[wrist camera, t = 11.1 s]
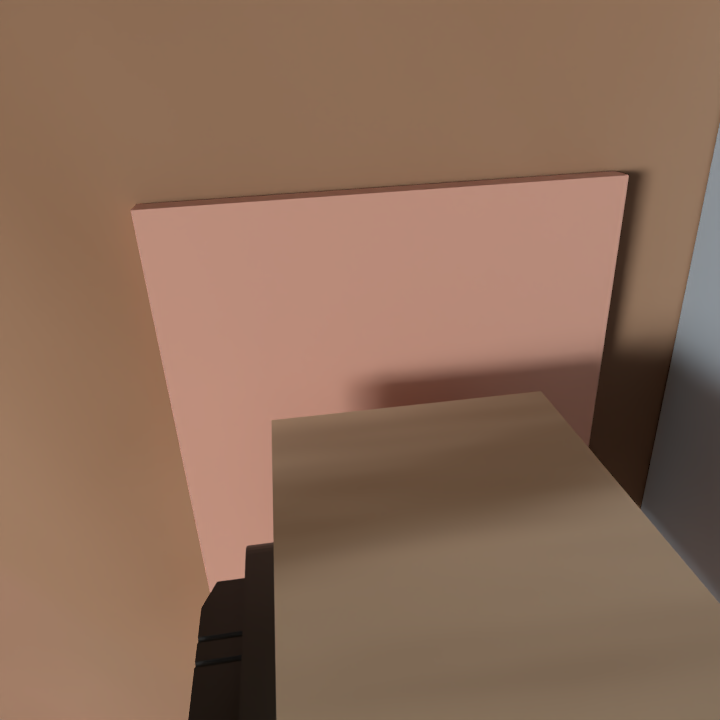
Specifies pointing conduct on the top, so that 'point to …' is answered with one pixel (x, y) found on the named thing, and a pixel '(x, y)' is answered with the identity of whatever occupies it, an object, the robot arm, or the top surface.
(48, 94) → the top surface
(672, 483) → the box
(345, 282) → the terracotta mat
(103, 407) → the top surface
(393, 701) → the maple block
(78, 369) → the top surface
